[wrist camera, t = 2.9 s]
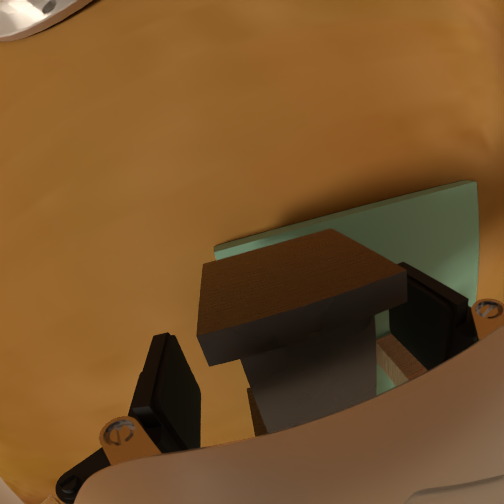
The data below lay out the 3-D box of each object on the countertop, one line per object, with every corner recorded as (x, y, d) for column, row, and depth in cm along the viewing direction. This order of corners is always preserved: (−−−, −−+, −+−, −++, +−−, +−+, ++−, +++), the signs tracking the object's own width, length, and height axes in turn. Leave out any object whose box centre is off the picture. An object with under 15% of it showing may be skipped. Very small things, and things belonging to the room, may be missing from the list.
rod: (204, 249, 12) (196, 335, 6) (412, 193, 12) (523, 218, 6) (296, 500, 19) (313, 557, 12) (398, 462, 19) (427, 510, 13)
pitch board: (213, 246, 13) (214, 283, 9) (465, 179, 14) (521, 188, 10) (299, 495, 20) (310, 531, 16) (436, 436, 21) (457, 463, 17)
